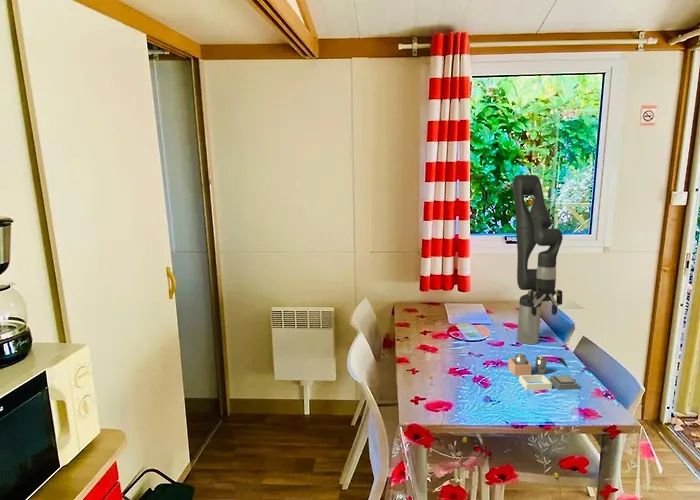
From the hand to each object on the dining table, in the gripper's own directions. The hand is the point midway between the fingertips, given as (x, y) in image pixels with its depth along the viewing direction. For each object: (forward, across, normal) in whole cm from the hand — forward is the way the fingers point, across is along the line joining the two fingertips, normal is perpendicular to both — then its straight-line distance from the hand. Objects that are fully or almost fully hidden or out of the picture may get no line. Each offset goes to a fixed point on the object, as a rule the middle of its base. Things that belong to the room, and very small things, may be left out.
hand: (543, 314), depth 204 cm
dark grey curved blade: (+18, 0, +11) cm, 22 cm away
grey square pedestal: (+18, +6, +28) cm, 34 cm away
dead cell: (+17, +17, +16) cm, 29 cm away
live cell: (+18, +10, +17) cm, 27 cm away
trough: (+18, +17, +27) cm, 37 cm away
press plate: (+16, +6, +28) cm, 33 cm away
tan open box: (+18, +17, +16) cm, 30 cm away
